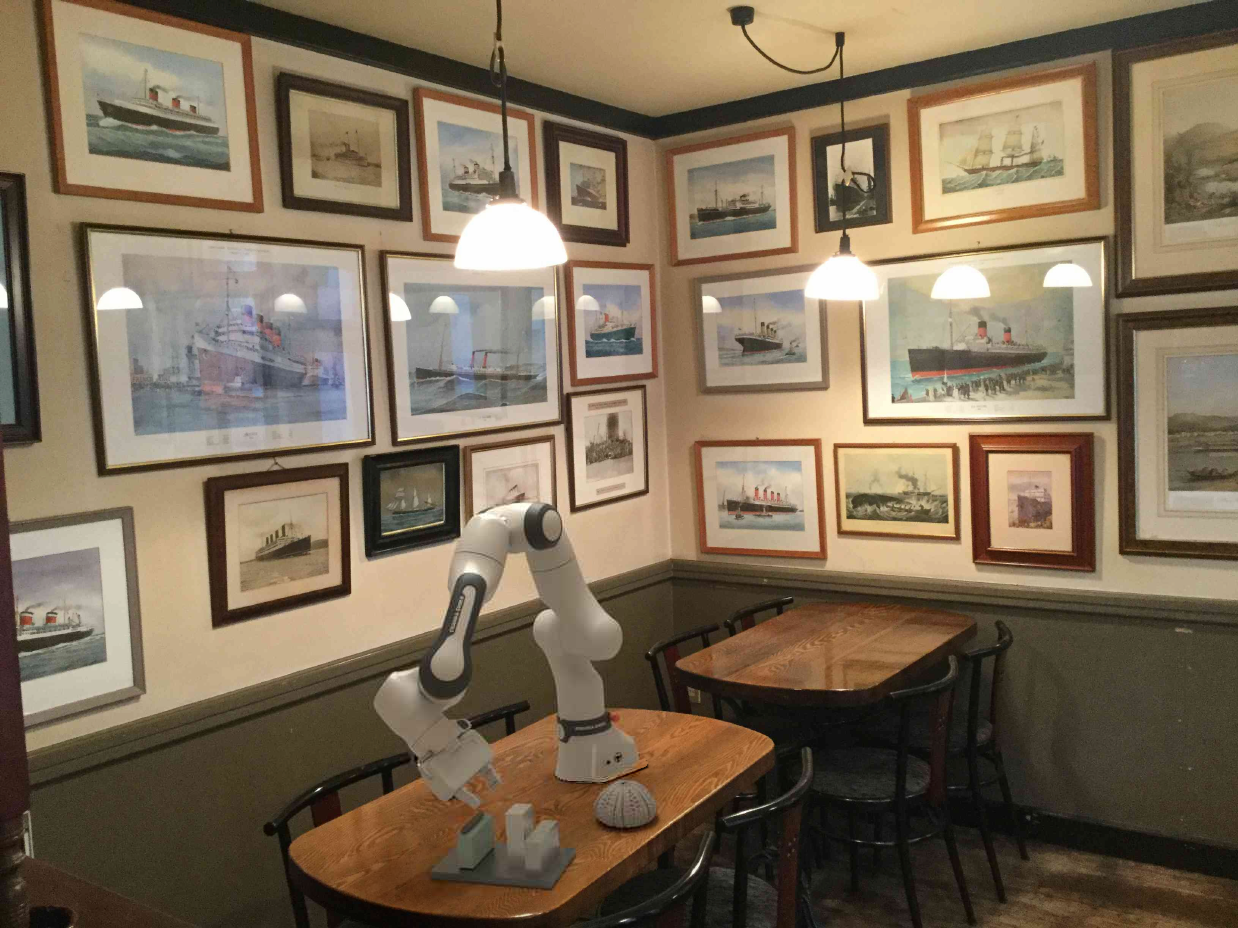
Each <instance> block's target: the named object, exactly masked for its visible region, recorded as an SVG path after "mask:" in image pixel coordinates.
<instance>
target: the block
mask: <svg viewBox="0 0 1238 928" xmlns="http://www.w3.org/2000/svg"><path fill="white" fill-rule="evenodd" d="M533 811H534V810H533V804H532V803H531V804H529V803H514V804H513V805H512V806H511V807H510V808H509V809H508V810H507V811H506V812H505V813H504V817H505V819H504V820H505V831H506V832H505V833H506V835H505V836H506V843H507V852H508V866H517V867H525V852H524V841H525V840H526V839H527V838H528V837H529V836H530V834H531V833H532V832H533V831H534V830H535V829H534V814H533V813H534V812H533Z"/></svg>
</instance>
